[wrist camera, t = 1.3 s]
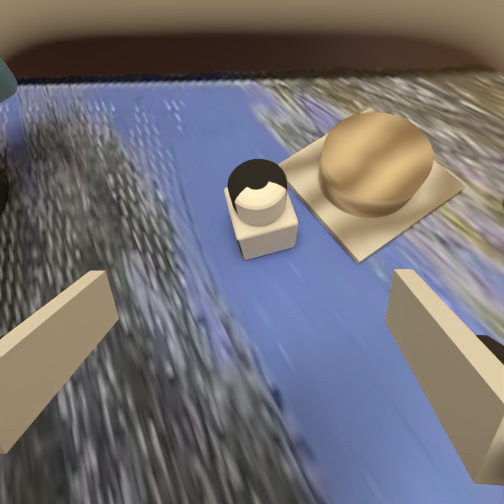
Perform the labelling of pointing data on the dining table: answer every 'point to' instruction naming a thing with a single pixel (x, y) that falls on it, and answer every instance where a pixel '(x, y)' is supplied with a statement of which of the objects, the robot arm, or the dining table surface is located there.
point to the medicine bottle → (261, 208)
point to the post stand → (369, 180)
